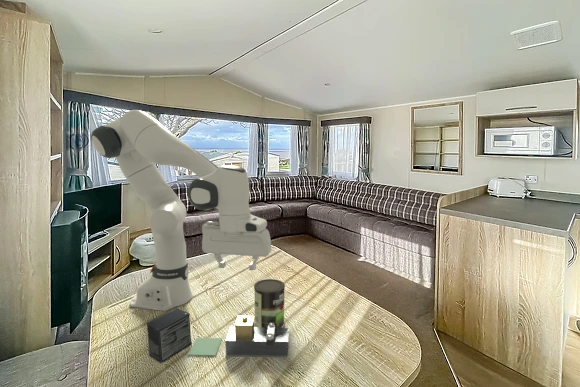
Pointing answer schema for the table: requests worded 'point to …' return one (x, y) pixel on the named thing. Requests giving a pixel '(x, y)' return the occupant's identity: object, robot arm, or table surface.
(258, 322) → the coffee can
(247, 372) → the table surface
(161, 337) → the small box
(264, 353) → the body
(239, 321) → the wooden cube with knob
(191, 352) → the mat
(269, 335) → the lever
